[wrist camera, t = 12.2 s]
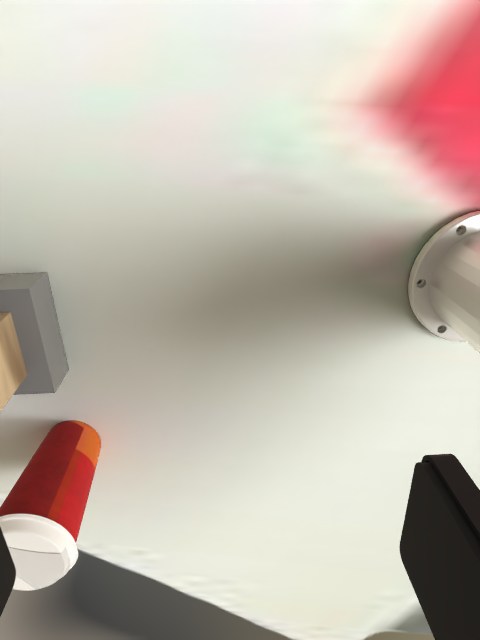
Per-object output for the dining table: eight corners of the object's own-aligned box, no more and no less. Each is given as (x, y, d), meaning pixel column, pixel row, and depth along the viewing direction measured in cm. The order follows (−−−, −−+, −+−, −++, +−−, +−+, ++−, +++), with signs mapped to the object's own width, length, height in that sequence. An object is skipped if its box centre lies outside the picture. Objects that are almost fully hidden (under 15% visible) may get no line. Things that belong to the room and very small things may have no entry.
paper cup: (26, 451, 46) (-46, 575, 34) (55, 400, 44) (-11, 514, 31) (93, 478, 48) (49, 606, 36) (125, 432, 46) (90, 551, 33)
